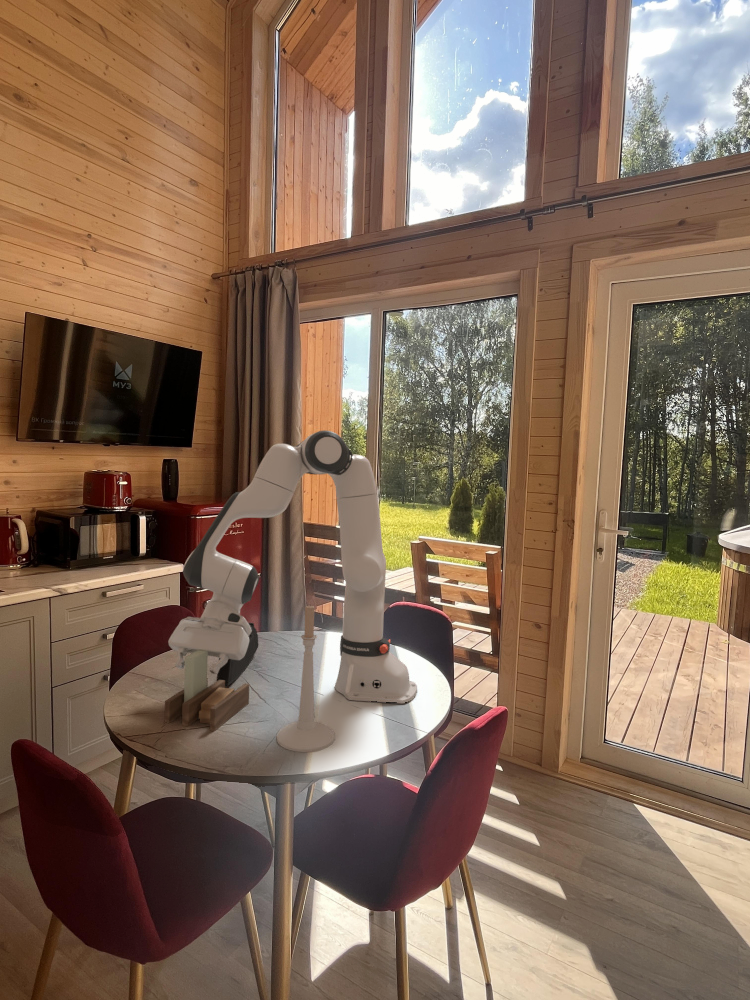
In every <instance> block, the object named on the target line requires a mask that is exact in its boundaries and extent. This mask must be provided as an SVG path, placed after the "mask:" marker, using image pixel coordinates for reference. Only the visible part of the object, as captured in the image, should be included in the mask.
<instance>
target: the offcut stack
mask: <svg viewBox="0 0 750 1000" xmlns="http://www.w3.org/2000/svg"><path fill="white" fill-rule="evenodd" d="M234 691H235V688H231V687H230V688H228V687H225V688H221V687H219V688H218V689H217V690H216V691H215V692H213V693H212V694H211V695H210V696H209V697H208V698H207V699H205V700H204V701H203V702H202V703H201V710H200V711H199V723H202V724H210V708H212V707H213V706H215V705H216V704H217V703H219V702H220V701H221V700H223V699H224V698H226V697H227V696H228V695H230V694H231V693H232V692H234Z"/></svg>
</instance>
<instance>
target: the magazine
mask: <svg viewBox="0 0 750 1000" xmlns="http://www.w3.org/2000/svg"><path fill="white" fill-rule="evenodd" d="M248 624H249V625H250V627H251V630H252V632H251V634H250V635H249V636H248V637H249V645H248V648H247V651H246V654H245V656H244V657H243V658H242V659H241V660H233V659H228V661H227V663H226V664H225V665H224V666H222V667H221V668H220V670H219V672H218V674H216V681H215V682H217V681H218V680H225V688H228V687H229V685H231V684H232V683H233V682H235V681H236V680H237V679H238V678H239V677H240V676H242V674H243V673H244V672H245V671H246V669H247V667H249V665H250V663H251V662H252V659H253V658H254V656H255V654H256V652H257V650H258V649H259V635H258V631H257V629H256V627H255V623H254V622H248ZM219 660H220V658H219V657H218V661H219Z"/></svg>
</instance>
